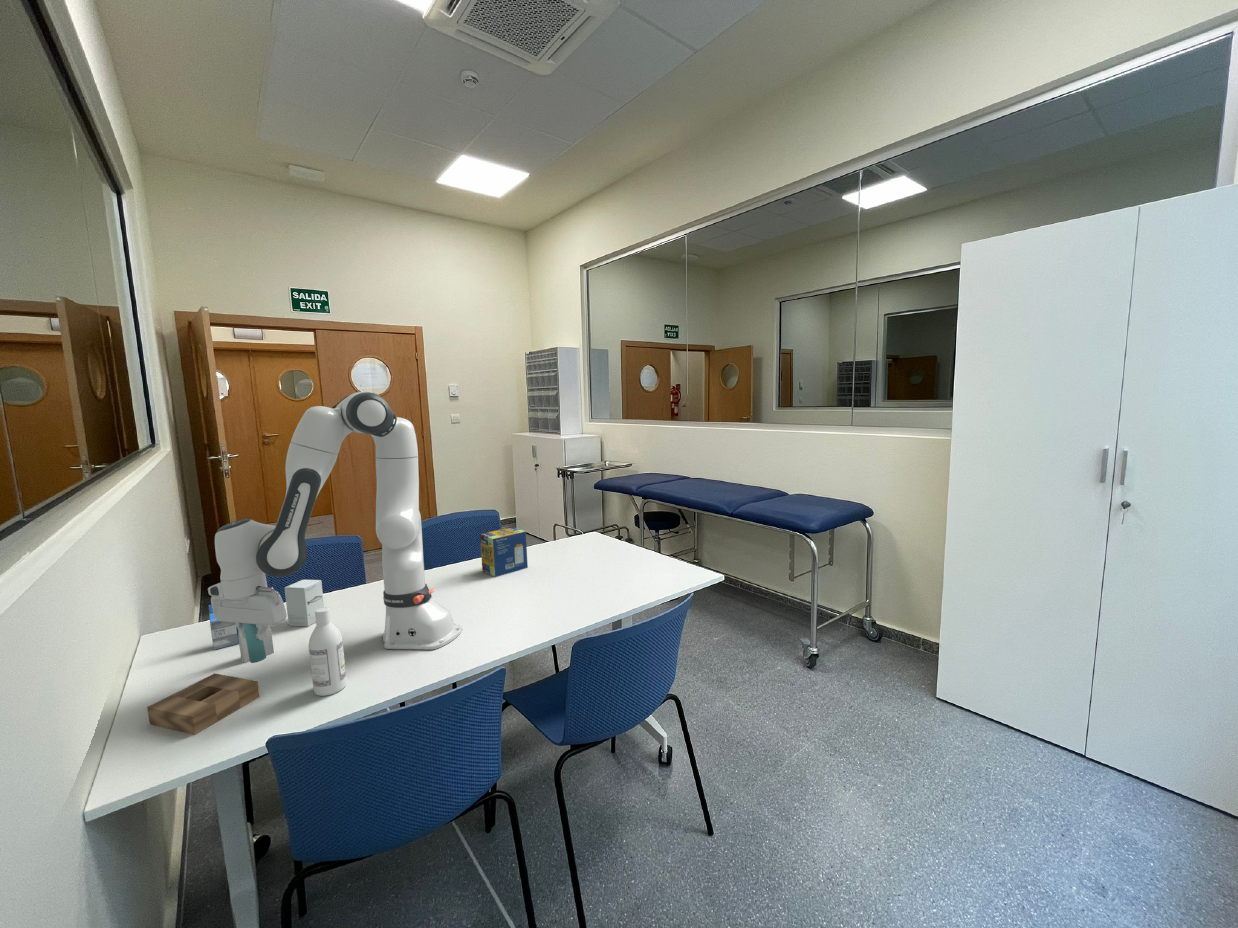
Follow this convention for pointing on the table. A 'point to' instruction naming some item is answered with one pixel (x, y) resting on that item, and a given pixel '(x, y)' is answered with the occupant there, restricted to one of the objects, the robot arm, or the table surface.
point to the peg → (254, 643)
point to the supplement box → (303, 602)
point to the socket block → (203, 703)
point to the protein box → (503, 551)
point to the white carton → (267, 644)
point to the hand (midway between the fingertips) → (254, 638)
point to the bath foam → (326, 656)
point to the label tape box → (222, 632)
